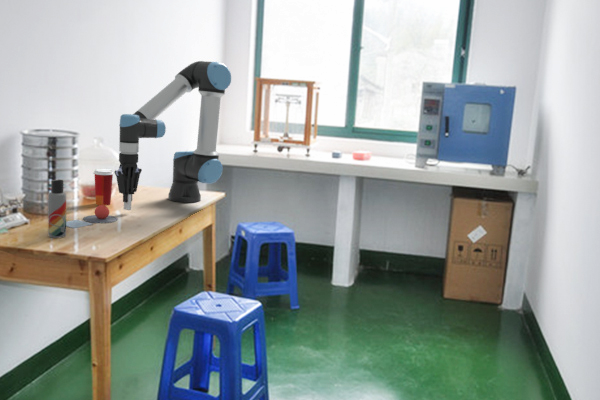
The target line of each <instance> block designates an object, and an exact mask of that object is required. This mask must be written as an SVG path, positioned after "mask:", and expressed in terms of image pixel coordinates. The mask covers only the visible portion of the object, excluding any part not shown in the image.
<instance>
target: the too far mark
mask: <svg viewBox="0 0 600 400" xmlns="http://www.w3.org/2000/svg"><path fill="white" fill-rule="evenodd" d="M91 225H92V226H93V225H94V223H90V222H86V221H84V220H80V219H74V220H73V219H72V220H68V221H67V220H66V228H71V229H78V228H82V227H86V226H91Z"/></svg>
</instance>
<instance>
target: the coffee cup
mask: <svg viewBox="0 0 600 400" xmlns="http://www.w3.org/2000/svg"><path fill="white" fill-rule="evenodd" d="M114 174H115V173H114V172H113V170H112V169H110V168H109V169H108V168H97V169H95V170H94V172H93V175H94V192H95V194H94V196H95V205H96V206H100V205H104V206H106V207H107V206H110V205H111V202H112V201H111V199H112V190H113V187H112V186H113V175H114Z"/></svg>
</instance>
